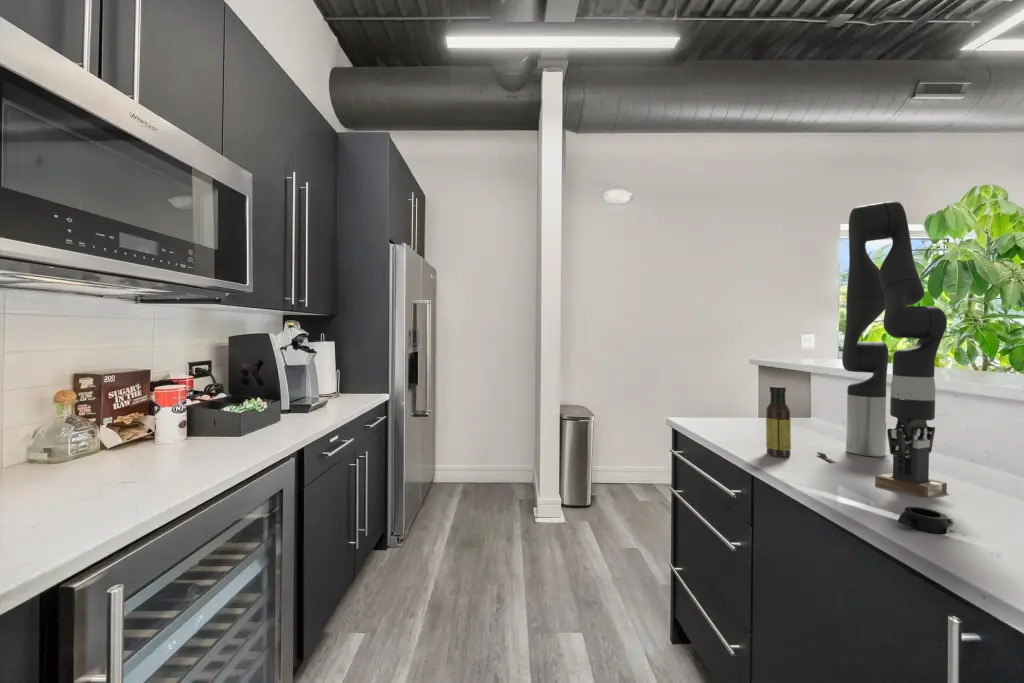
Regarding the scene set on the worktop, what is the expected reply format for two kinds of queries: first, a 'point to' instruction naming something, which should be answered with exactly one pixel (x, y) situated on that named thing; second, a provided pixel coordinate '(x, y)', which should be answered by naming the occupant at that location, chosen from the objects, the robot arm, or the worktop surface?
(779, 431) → the sauce bottle
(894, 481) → the wooden rectangular frame
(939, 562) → the worktop surface
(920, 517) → the duct tape
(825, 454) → the tomahawk
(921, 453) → the dark grey upright block
